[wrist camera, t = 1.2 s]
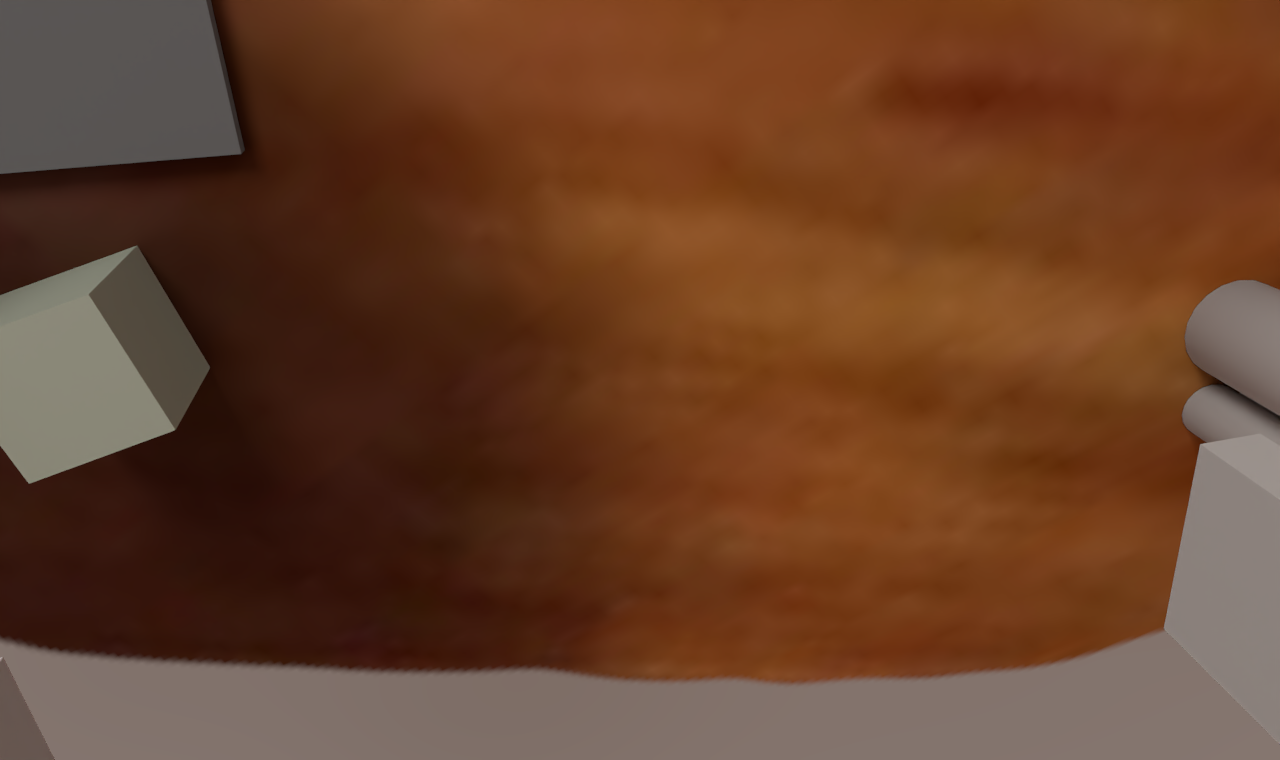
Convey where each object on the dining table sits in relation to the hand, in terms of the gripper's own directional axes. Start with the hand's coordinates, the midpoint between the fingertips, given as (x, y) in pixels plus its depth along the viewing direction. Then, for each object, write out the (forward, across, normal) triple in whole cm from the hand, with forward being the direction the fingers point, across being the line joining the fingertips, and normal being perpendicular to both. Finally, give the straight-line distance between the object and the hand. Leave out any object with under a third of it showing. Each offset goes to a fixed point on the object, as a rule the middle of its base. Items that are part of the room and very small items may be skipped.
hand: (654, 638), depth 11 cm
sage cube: (+26, -15, -5) cm, 31 cm away
